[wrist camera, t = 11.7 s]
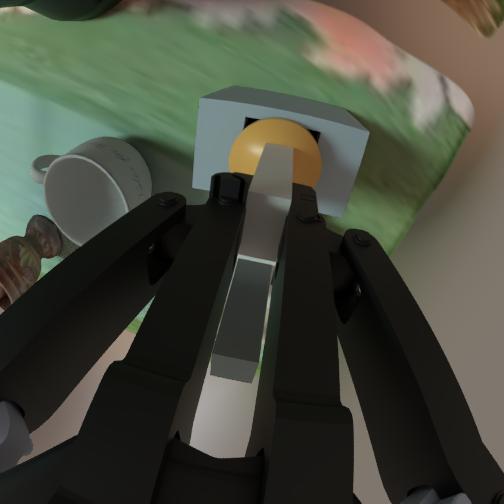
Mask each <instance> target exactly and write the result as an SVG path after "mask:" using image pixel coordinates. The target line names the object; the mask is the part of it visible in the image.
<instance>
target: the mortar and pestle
mask: <svg viewBox="0 0 504 504" xmlns="http://www.w3.org/2000/svg"><path fill="white" fill-rule="evenodd" d="M61 248H62V244H61V240H60V237H59V234H58V231H57V228H56V225H54V224H53V223H51V222H50V221H48V220H47V219H46V218H44V217H42V216H40V215H34V216H33V217H32V218H31V219H30V221H29V223H28V225H27V228H26V234H25V236H24V237H21V236H13V237H10V238H8V239H6V240H4V241H2V242H1V243H0V307H1V308H2V309H4V310H6V309H7V308H8V307H9V306H10V305H11V304H12V303H14V302H15V301H16V300H17V299H18V298H19V297H20V296H21V295H22V294H23V293H25V292H26V291H27V290H28V289H29V288H30V287H31V286H33V285H34V284H35V283H36V281H37V279H38V277H39V275H40V271H41V259H42V258H47V259H49V258H53V257H55V256H57V255H58V254H59V253H60V252H61Z"/></svg>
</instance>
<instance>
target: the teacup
mask: <svg viewBox="0 0 504 504" xmlns="http://www.w3.org/2000/svg"><path fill="white" fill-rule="evenodd" d="M46 167H49V168H48V170H47V171H41V170H40V169H42V168H46ZM30 176H31V178H32V180H33V181H34V182H36V183H39V184H44V187H43V191H44V198H45V203H46V206H47V209H48V212H49V214H50V216H51V218H52V219H53V221H54V222H55V224H56V225H57V227H58V228H59V229H60V230H61V231H62V233H63V234H64V235H65V236H67V237H68V238H69V239H70V240H71V241H72V242H74V243H75V244H77V245H79V246H80V247H81V246H82V245H83V244H85V243H86V242H87V241H89V240H90V239H91V238H93V237H94V236H95V235H97V234H98V233H99V232H101V231H102V230H104V229H105V228H106V227H108V226H109V225H110V224H112V223H113V222H115V221H116V220H118V219H119V218H120V217H122V216H123V215H125V214H126V213H128V212H129V211H131V210H132V209H134V208H135V207H137V206H138V205H140V204H141V203H143V202H144V201H146V200H147V199H149V198H150V197H151V192H152V181H151V175H150V172H149V169H148V167H147V164H146V162H145V161H144V159H143V157H142V156H141V155H140V154H139V152H138V151H137V150H136V149H135V148H134V147H132V146H131V145H130V144H128V143H127V142H125V141H123V140H120V139H118V138H114V137H98V138H94V139H91V140H89V141H86V142H84V143H82V144H81V145H79V146H77V147H76V148H74V149H72V150H71V151H69V152H68V153H66V154H65V155H62V156H59V155H44V156H40V157H38V158H37V159H35V160H34V161H33V163H32V164H31V167H30Z"/></svg>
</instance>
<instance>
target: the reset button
mask: <svg viewBox="0 0 504 504" xmlns="http://www.w3.org/2000/svg"><path fill="white" fill-rule="evenodd" d="M266 142H267V143H272V144H277V145H282V146H287V147H292V148H293V175H292V182H293V183H298V184H302V185H307V186H311V187H312V188H313V189H314V188H315V186H316V184H317V183H318V181H319V178H320V175H321V170H322V160H321V155H320V151H319V147H318V145H317V142H316V141H315V139H314V137H313V136H312V134H311V133H310V132H309V131H308V130H307V129H306V128H305V127H303V126H302V125H301V124H299V123H297V122H295V121H293V120H290V119H287V118H281V117H268V118H263V119H259V120H257V121H255V122H253V123H252V124H250V125H249V126H247V127H246V128H245V129H244V130H243V131H242V132H241V133H240V135H239V136H238V137H237V139H236V140H235V142H234V143H233V145H232V148H231V151H230V155H229V168H230V173H234V172H239V173H244V174H250V175H254V174H255V171H256V168H257V165H258V163H259V160H260V157H261V154H262V152H263V149H264V146H265V144H266Z"/></svg>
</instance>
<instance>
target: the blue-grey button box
mask: <svg viewBox="0 0 504 504" xmlns="http://www.w3.org/2000/svg"><path fill="white" fill-rule="evenodd" d="M248 117H250V118H256V119H263V118H268V117H281V118H287V119H290V120H293V121H295V122H297V123H299V124H301V125H302V126H303V127H305V128H306V129H310V130H314V131H318V133H317V137H316V142H317V145H318V147H319V151H320V155H321V160H322V170H321V175H320V178H319V181H318V183H317V184H316V186H315V188H314V191H315V192H316V197H317V205H318V213H321V214H325V215H330V216H334V217H338V218H343V215H344V212H345V209H346V206H347V204H348V201H349V198H350V195H351V192H352V189H353V186H354V183H355V180H356V176H357V173H358V170H359V167H360V164H361V161H362V157H363V154H364V151H365V147H366V144H367V141H368V137H369V134H370V132H369V131H368V130H367V129H366V128H365V127H364V126H363V125H362V124H361V123H360V122H359V121H357V120H356V119H355V118H354V117H353V116H352V115H351V114H350V113H349V112H348V111H346V110H345V109H344V108H342V107H338V106H335V105H331V104H327V103H323V102H319V101H315V100H311V99H306V98H302V97H297V96H292V95H288V94H283V93H277V92H272V91H266V90H260V89H254V88H247V87H240V86H231V87H228V88H225V89H222V90H219V91H216V92H214V93H211V94H208V95H206V96H203V97H201V98H200V101H199V111H198V120H197V131H196V142H195V154H194V167H193V182H192V188H196V189H202V190H208V191H210V184H211V176H212V175H214V174H216V173H221V172H230V168H229V155H230V151H231V148H232V145H233V143H234V142H235V140H236V139H237V137H238V136H239V135H240V133H241V132H242V131H243V130H244V129H245V128H246V127H247V122H248Z"/></svg>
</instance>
